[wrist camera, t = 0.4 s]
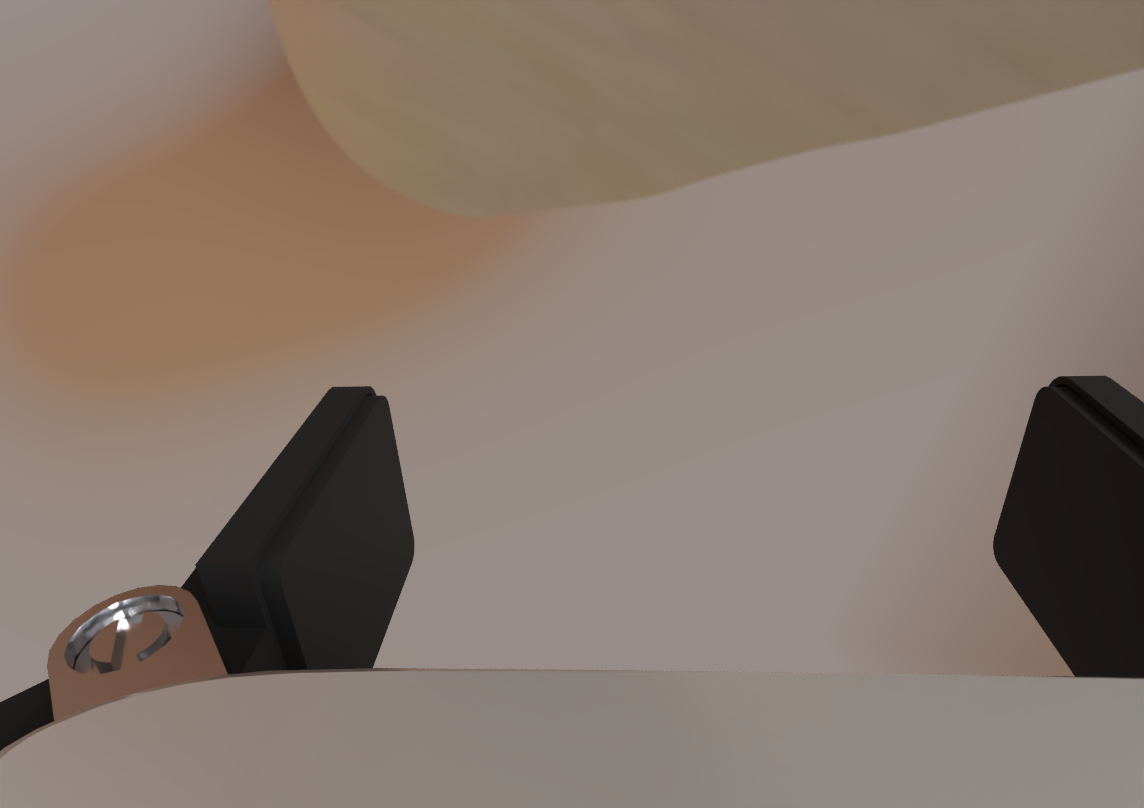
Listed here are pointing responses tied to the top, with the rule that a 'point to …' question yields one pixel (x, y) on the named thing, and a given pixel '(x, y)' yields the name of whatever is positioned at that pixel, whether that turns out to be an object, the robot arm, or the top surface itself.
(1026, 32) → the top surface
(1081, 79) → the top surface
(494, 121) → the top surface
